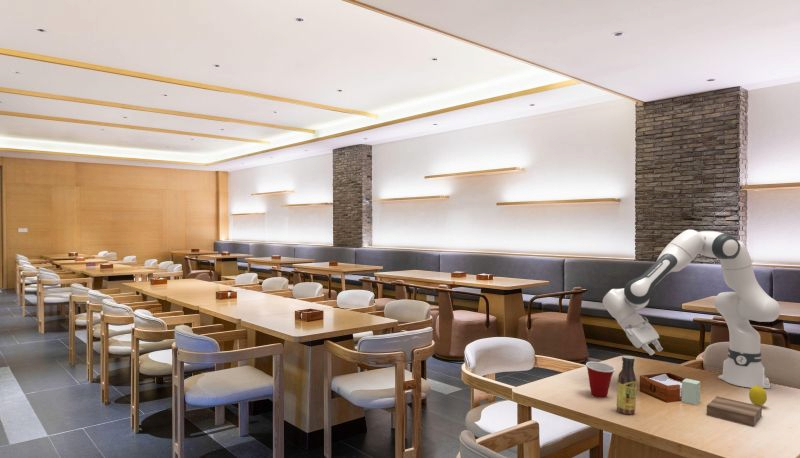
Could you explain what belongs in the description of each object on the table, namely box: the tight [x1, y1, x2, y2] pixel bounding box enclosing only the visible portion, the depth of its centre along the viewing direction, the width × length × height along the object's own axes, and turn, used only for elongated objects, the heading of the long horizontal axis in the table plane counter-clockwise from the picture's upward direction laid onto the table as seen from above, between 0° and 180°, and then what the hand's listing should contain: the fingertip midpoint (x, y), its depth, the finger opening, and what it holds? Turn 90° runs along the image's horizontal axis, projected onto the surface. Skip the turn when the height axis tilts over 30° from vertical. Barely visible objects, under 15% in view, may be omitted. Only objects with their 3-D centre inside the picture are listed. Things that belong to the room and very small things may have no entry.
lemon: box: [748, 385, 768, 406], centre depth 190 cm, size 6×6×8 cm
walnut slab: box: [706, 395, 763, 428], centre depth 180 cm, size 14×14×4 cm
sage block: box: [681, 378, 701, 406], centre depth 194 cm, size 5×5×8 cm
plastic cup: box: [585, 361, 616, 399], centre depth 199 cm, size 11×11×12 cm
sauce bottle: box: [616, 355, 638, 415], centre depth 182 cm, size 6×6×20 cm
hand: (657, 352), depth 202 cm, fingers open, 8 cm apart
